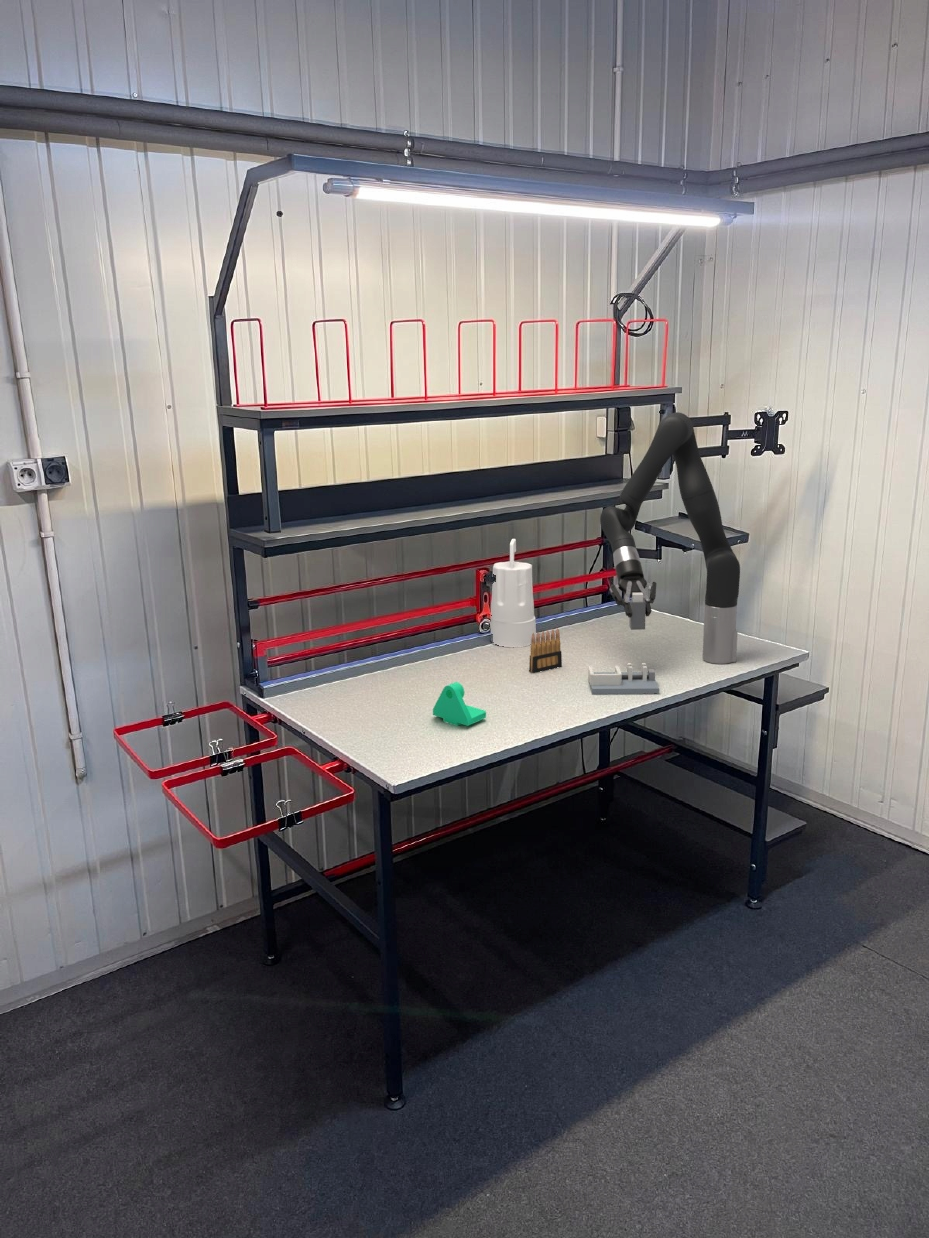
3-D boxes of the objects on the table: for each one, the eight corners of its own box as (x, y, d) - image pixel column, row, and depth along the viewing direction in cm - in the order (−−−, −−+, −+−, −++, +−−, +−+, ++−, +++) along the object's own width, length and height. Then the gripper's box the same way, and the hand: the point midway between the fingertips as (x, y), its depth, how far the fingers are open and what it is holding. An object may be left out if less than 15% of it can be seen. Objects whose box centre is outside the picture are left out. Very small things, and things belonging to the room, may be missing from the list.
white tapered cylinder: (488, 634, 304) (487, 537, 296) (533, 633, 305) (532, 535, 296) (492, 648, 289) (490, 545, 281) (538, 646, 290) (538, 544, 281)
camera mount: (487, 720, 229) (487, 682, 226) (468, 729, 224) (466, 690, 221) (453, 710, 237) (452, 673, 234) (433, 718, 232) (431, 681, 229)
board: (651, 677, 258) (652, 658, 256) (658, 694, 244) (659, 674, 243) (587, 677, 259) (587, 659, 257) (591, 694, 245) (591, 674, 244)
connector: (643, 625, 260) (643, 591, 257) (645, 629, 256) (645, 595, 253) (629, 625, 260) (629, 592, 258) (631, 629, 256) (631, 595, 254)
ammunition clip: (532, 673, 264) (532, 634, 261) (529, 671, 265) (528, 632, 262) (562, 666, 269) (562, 628, 266) (558, 665, 271) (558, 626, 268)
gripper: (606, 559, 260) (617, 610, 251) (654, 556, 261) (667, 607, 253) (601, 573, 266) (612, 623, 258) (648, 571, 268) (660, 620, 259)
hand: (639, 615), depth 255 cm, fingers closed on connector, 4 cm apart
